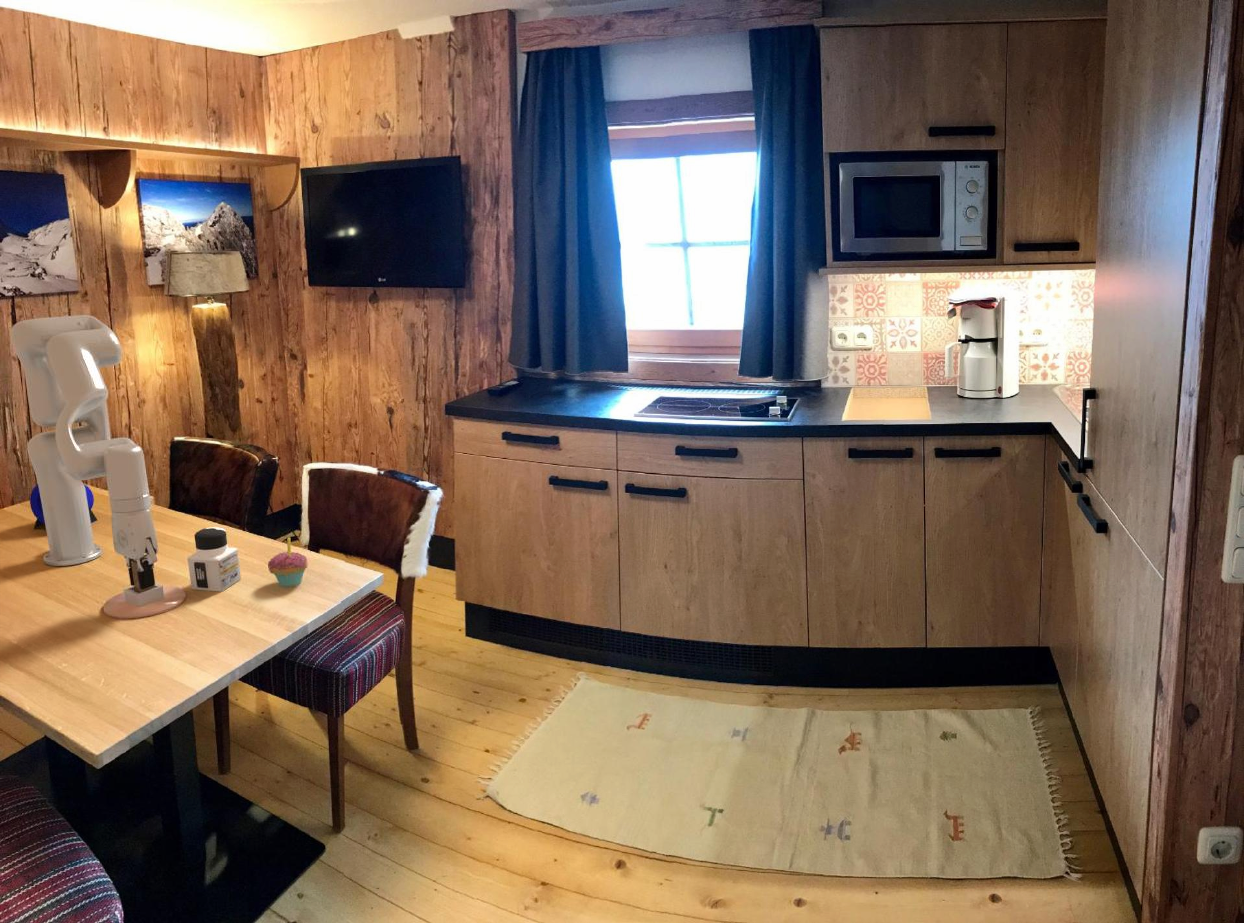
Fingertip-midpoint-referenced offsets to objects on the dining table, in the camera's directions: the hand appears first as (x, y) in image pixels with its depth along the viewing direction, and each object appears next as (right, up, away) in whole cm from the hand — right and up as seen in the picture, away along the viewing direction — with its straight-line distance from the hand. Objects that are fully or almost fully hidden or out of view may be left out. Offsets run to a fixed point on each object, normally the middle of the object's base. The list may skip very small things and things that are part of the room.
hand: (143, 584), depth 211 cm
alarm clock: (-47, +9, +55) cm, 73 cm away
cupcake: (+28, -1, +12) cm, 30 cm away
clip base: (0, -4, +1) cm, 4 cm away
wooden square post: (0, -3, +1) cm, 4 cm away
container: (+11, -2, +11) cm, 16 cm away
